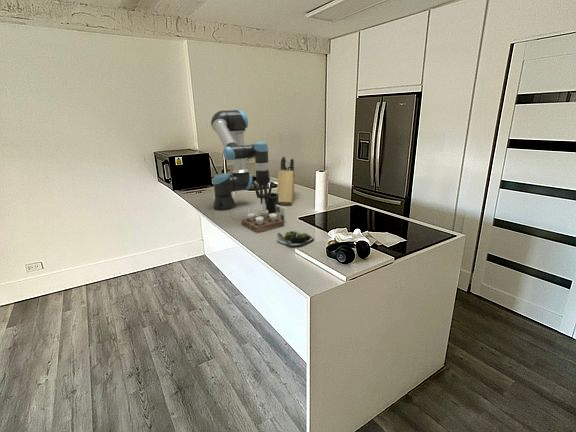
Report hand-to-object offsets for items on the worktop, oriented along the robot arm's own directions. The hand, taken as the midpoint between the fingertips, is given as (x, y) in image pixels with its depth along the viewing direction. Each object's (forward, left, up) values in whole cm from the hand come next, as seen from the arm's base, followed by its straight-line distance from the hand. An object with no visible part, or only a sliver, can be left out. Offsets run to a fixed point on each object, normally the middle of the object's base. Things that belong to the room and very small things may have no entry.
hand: (264, 209), depth 187 cm
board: (+4, -4, -8) cm, 10 cm away
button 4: (+9, 0, -6) cm, 11 cm away
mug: (-15, +14, -8) cm, 22 cm away
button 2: (+9, -9, -6) cm, 14 cm away
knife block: (-33, +39, -8) cm, 52 cm away
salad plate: (+35, -4, -9) cm, 36 cm away
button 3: (0, 0, -6) cm, 6 cm away
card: (+4, +10, -8) cm, 13 cm away
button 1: (0, -9, -6) cm, 11 cm away
